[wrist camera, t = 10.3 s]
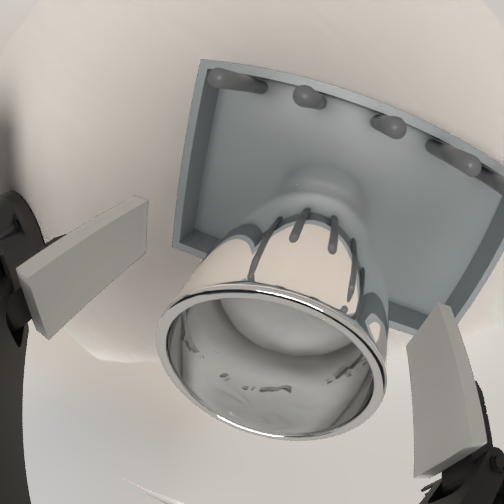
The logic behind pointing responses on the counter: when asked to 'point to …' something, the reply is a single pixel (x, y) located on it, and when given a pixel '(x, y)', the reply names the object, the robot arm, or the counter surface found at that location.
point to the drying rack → (357, 167)
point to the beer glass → (286, 316)
